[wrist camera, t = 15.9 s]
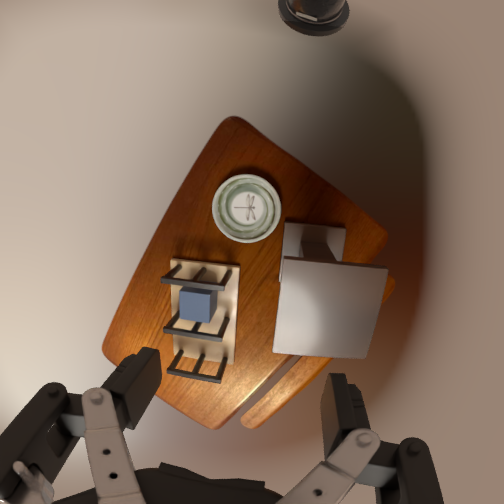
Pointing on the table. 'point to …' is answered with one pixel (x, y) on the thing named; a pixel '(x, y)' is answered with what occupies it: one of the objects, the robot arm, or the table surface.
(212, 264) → the rack
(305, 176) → the table surface
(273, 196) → the saucer
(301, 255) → the stand
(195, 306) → the block
